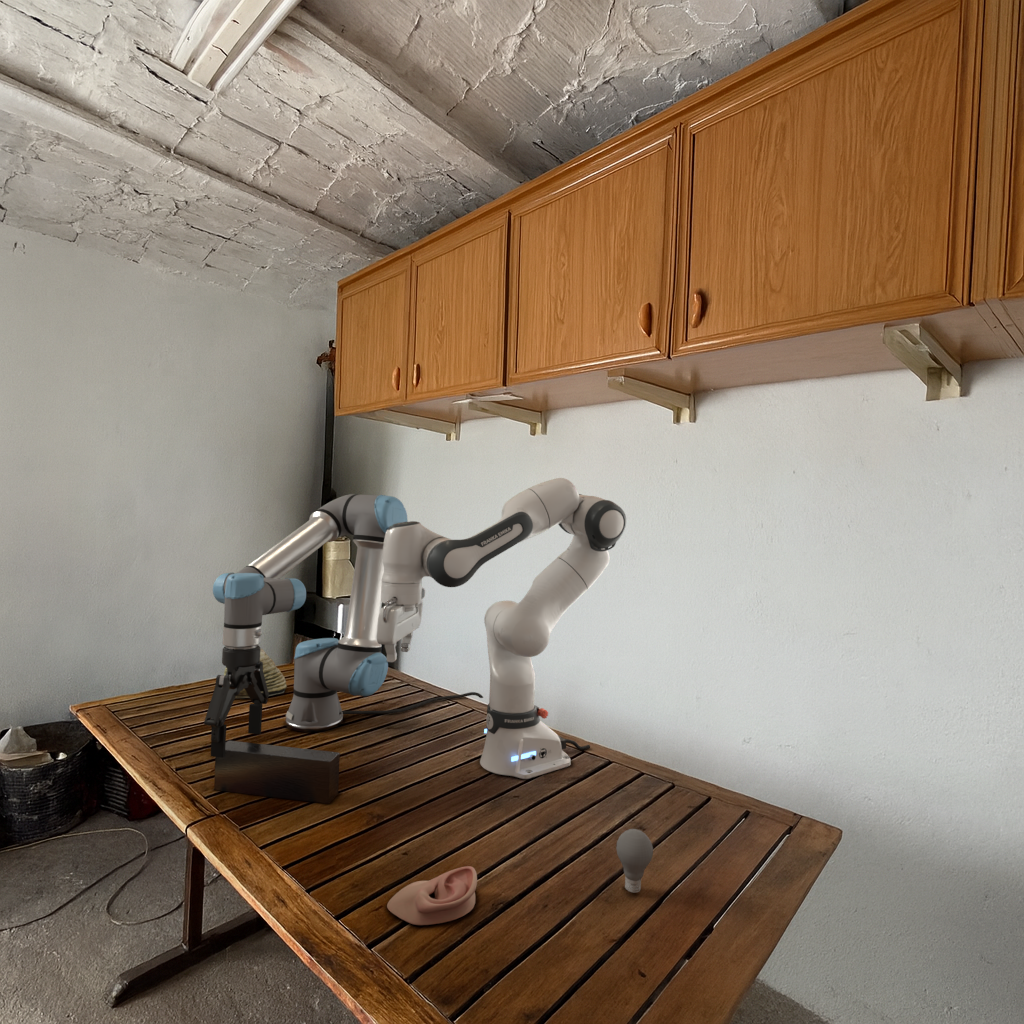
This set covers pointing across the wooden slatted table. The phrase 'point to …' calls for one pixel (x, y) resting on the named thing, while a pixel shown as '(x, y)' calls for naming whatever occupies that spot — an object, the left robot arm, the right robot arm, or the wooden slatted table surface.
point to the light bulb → (634, 857)
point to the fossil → (268, 677)
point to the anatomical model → (436, 898)
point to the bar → (278, 772)
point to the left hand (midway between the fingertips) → (237, 744)
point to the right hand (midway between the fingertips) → (398, 656)
